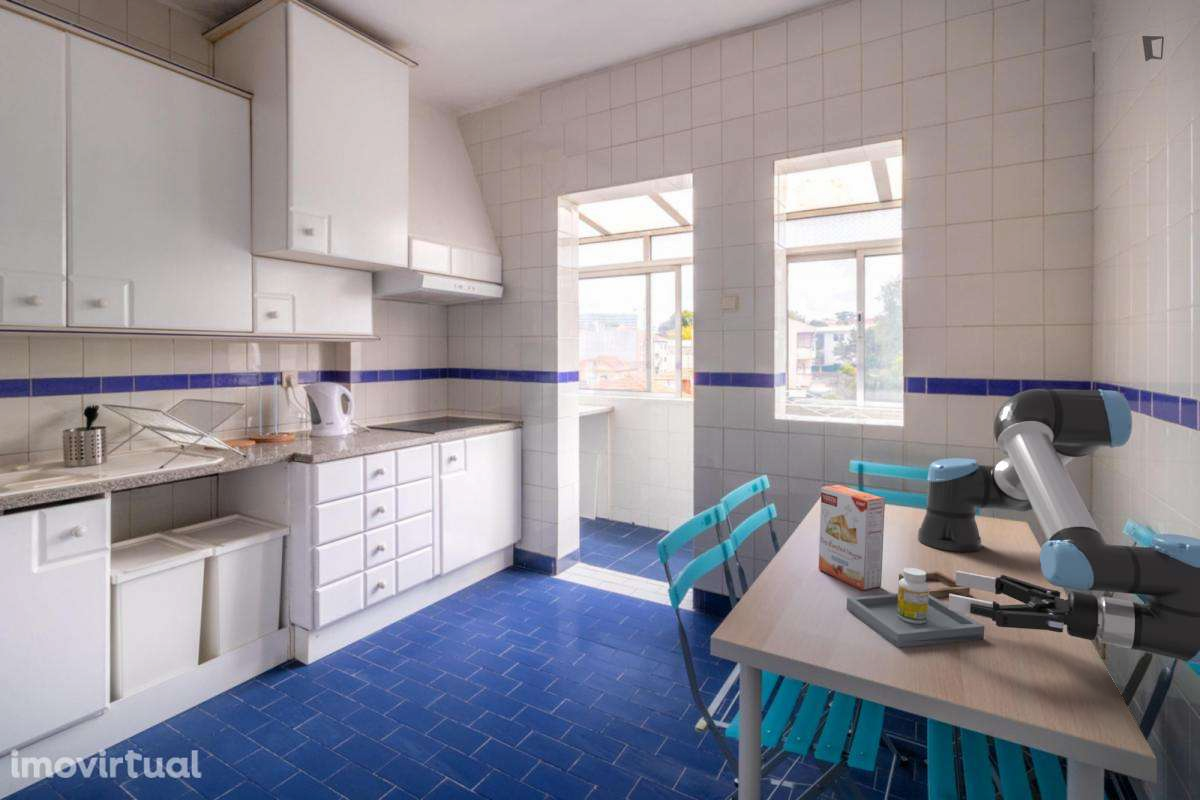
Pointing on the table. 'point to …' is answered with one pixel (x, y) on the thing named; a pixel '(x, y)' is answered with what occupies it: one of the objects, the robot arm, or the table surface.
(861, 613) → the tray
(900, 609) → the supplement bottle
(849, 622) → the table surface
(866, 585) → the cracker box
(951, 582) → the bottle holder
